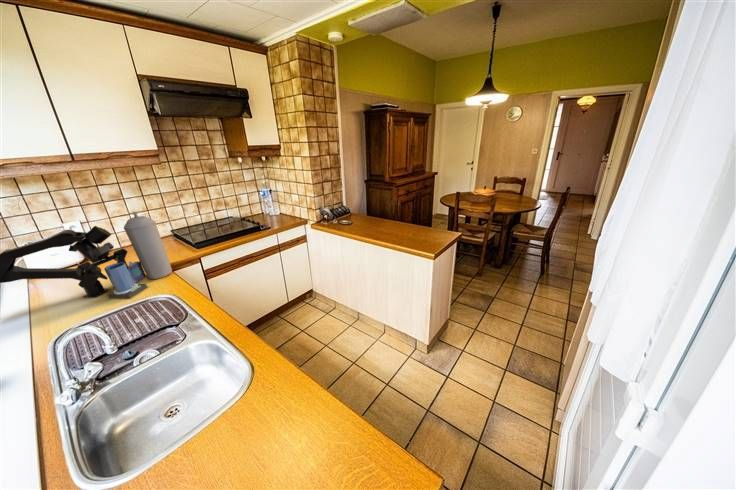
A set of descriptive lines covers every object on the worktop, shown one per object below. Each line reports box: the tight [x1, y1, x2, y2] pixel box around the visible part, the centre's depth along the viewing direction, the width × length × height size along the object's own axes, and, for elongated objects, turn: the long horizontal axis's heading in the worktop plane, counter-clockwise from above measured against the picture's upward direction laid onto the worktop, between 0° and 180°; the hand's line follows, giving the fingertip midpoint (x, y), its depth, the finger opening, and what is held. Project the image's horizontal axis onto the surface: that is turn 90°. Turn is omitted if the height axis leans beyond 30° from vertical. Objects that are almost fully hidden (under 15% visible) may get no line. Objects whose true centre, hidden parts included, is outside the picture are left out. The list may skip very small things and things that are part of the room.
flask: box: [127, 260, 147, 283], centre depth 137 cm, size 9×3×11 cm, turn 179°
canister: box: [123, 211, 173, 280], centre depth 136 cm, size 13×13×35 cm
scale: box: [107, 282, 148, 299], centre depth 127 cm, size 11×10×3 cm
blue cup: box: [104, 262, 135, 292], centre depth 124 cm, size 7×7×12 cm
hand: (118, 273), depth 123 cm, fingers open, 9 cm apart
